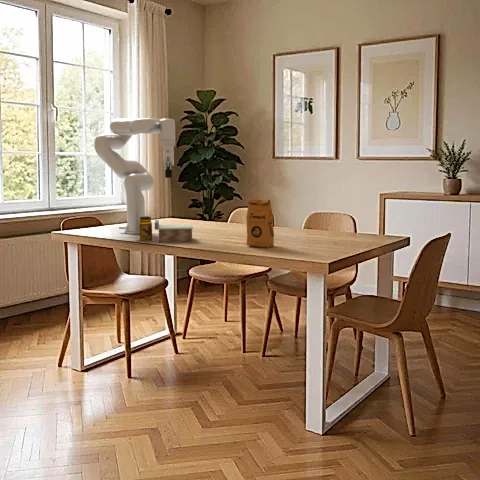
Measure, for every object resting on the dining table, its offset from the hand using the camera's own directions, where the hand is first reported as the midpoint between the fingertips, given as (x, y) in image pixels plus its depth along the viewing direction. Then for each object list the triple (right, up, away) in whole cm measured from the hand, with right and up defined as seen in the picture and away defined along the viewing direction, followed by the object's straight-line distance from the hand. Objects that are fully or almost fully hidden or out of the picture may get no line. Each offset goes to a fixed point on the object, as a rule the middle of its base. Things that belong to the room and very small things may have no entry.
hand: (168, 177), depth 320 cm
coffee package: (+46, -35, -32) cm, 66 cm away
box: (+5, -32, -12) cm, 35 cm away
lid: (+4, -26, -13) cm, 29 cm away
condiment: (-10, -33, -13) cm, 37 cm away
